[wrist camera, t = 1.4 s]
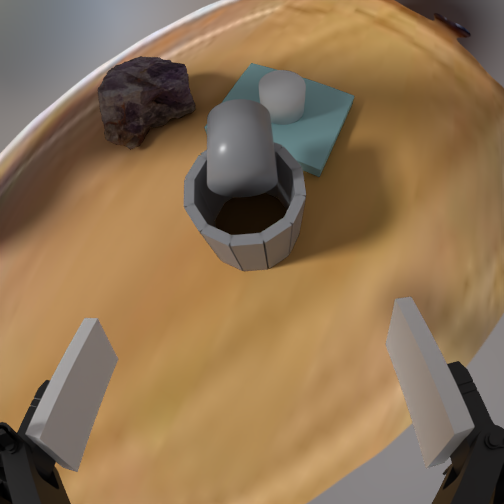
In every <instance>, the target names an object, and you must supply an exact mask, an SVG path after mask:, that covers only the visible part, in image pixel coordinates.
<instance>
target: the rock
mask: <svg viewBox="0 0 504 504" xmlns="http://www.w3.org/2000/svg"><path fill="white" fill-rule="evenodd" d="M98 96H99V103H100V112H101V115H102V121H103V123H104V129H105V132H104V134H105V137H106V140H107V141H110V142H112V143H114V144H119V145H124V146H126V147H128V148H129V149H130V150H131V149H133V148H135V147H137V146H140V144H141V143H142V142H143V140H144V138H145V134H147V133H148V131H149V129H150V128H154V127H157V126H162V125H164V124H166V123H167V122H168V121H169V120H170V119H171V118H173V117H174V118H180V117H182V116H183V115H185V114H187V113H192V112H193V111H194V110H195V108H196V105H195V103H194V101H193V97H192V95H191V93H190V89H189V83H188V74H187V69H186V66H185V64H180V63H172V62H171V61H170V60H163V59H161V58H158V57H138V58H135V59H132V60H130V61H127V62H124V63H122V64H120V65H116V66H115V67H114V68H112V69H111V70H109V71H108V72H107V75H106V76H105V77H104V79H103V81H102V84H101V86H100V87H99V88H98Z"/></svg>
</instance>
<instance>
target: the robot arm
mask: <svg viewBox="0 0 504 504" xmlns="http://www.w3.org/2000/svg"><path fill="white" fill-rule="evenodd" d="M386 347H387V350H388V352H389V355H390V358H391V360H392V363H393V366H394V369H395V372H396V374H397V377H398V380H399V383H400V386H401V389H402V392H403V394H404V397H405V400H406V403H407V406H408V410H409V413H410V416H411V419H412V422H413V425H414V428H415V432H416V435H417V438H418V442H419V445H420V448H421V452H422V455H423V459H424V462H425V466H426V468H429V467H433V466H436V465H439V464H442V463H444V462H445V461H446V460H447V459H448V458H449V457H450V458H451V461H452V464H451V465H450V466H449V467H448V468H447V469H446V470H445V472H444V473H443V475H445V474H446V473H447V474H446V476H445V478H444V480H443V483H442V485H441V487H440V489H439V491H438V493H437V495H436V497H435V499H434V500H433V502H432V504H504V429H503V428H501V427H500V426H497V425H495V424H494V423H493V422H492V420H491V418H490V416H489V413H488V411H487V409H486V407H485V405H484V402H483V400H482V398H481V396H480V394H479V392H478V391H477V388H476V386H475V384H474V383H473V379H472V377H471V376H470V374H469V372H468V370H467V369H466V368H465V367H464V366H463V365H462V364H461V363H460V362H459V361H457V362H453V363H449V364H447V363H446V361H445V359H444V357H443V355H442V353H441V351H440V349H439V347H438V345H437V343H436V341H435V340H434V338H433V336H432V334H431V332H430V330H429V328H428V326H427V324H426V323H425V321H424V319H423V317H422V315H421V313H420V312H419V310H418V308H417V306H416V304H415V303H414V301H413V299H412V297H405V298H398V299H395V302H394V307H393V312H392V317H391V322H390V327H389V331H388V336H387V340H386ZM117 361H118V357H117V356H116V354H115V352H114V350H113V348H112V346H111V344H110V342H109V340H108V338H107V336H106V334H105V332H104V330H103V328H102V326H101V324H100V322H99V320H98V318H85V319H84V320H83V322H82V324H81V325H80V327H79V329H78V331H77V332H76V334H75V336H74V338H73V339H72V341H71V343H70V345H69V347H68V348H67V350H66V352H65V354H64V356H63V358H62V359H61V361H60V363H59V365H58V367H57V369H56V371H55V373H54V375H53V377H52V378H51V380H50V381H49V380H46V381H45V382H44V383H43V384H42V385H41V386H40V387H39V388H38V390H37V392H36V394H35V396H34V399H33V400H32V402H31V404H30V405H31V406H29V409H28V411H27V413H26V415H25V417H24V419H23V421H22V423H21V426H20V428H19V430H18V432H17V433H16V432H15V431H14V430H13V429H12V428H11V427H10V426H9V425H8V424H7V423H4V422H1V423H0V504H71V503H70V501H69V498H68V496H67V493H66V491H65V489H64V486H63V484H62V481H61V478H60V476H59V473H58V471H57V469H56V467H55V466H54V465H55V462H57V463H58V464H59V465H61V466H62V467H63V468H66V469H69V470H73V471H76V472H78V469H79V466H80V462H81V459H82V456H83V453H84V450H85V447H86V444H87V441H88V438H89V435H90V432H91V430H92V427H93V424H94V421H95V418H96V415H97V413H98V410H99V407H100V405H101V402H102V399H103V397H104V394H105V391H106V389H107V386H108V383H109V381H110V378H111V376H112V373H113V371H114V368H115V366H116V363H117Z"/></svg>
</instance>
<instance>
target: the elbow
mask: <svg viewBox="0 0 504 504" xmlns="http://www.w3.org/2000/svg"><path fill="white" fill-rule="evenodd" d="M201 155H202V156H201ZM201 155H199V156H198V158H197V159H196V161H195V163H194V164H193V166H192V167H191V169H190V171H189V172H188V174H187V175H186V177H185V179H186V180H184V207H185V210H186V212H187V213H188V215H189V216H190V218H191V219H192V221H193V223H194V224H195V226H196V227H197V229H198V231H199V232H200V233H201V235H202V236H203V237H204V239H205V240H206V241H207V243H208V244H209V245H210V247H211V248H212V249H213V251H214V252H215V253H216V255H217V256H218V257H219V259H220V260H221V261H223V262H225V263H227V264H229V265H231V266H233V267H235V268H237V269H239V270H241V271H243V270H244V271H254V270H266V269H267V267H268V268H269V269H270V268H271V267H273V266H274V265H276V264H277V263H279V262H280V261H281V260H283V259H284V258H286V257H287V256H289V255H290V253H291V250H292V248H293V246H294V244H295V242H296V240H297V238H298V236H299V232H300V227H301V222H302V216H303V210H304V205H305V199H306V190H305V183H304V176H303V169H302V168H301V167H302V166H301V165H300V164H299V163H298V162H297V161H296V159H295V158H294V157H293V156H292V155H291V154H290V153H289V151H288V150H287V149H286V148H285V147H282V145H281V144H278V143H275V142H273V133H272V125H271V117H270V113H269V111H268V109H267V108H266V107H265V106H263V105H262V104H260V103H258V102H255V101H252V100H246V99H235V100H230V101H226V102H223V103H221V104H219V105H217V106H215V107H214V108H213V109H212V110H211V111H210V113H209V115H208V118H207V150H206V151H204V152H202V153H201ZM263 193H266V194H269V195H271V196H274V197H276V198H278V199H279V200H280V202H281V203H282V204H283V206H284V207H285V208H286V210H287V212H286V214H285V216H284V218H282V219H281V220H279V221H278V222H276V223H275V224H273V225H272V226H270V227H269V228H267V229H266V230H264V231H262V232H261V233H253V234H241V235H230V234H228V233H226V232H224V231H221V230H219V229H217V228H216V223H215V219H216V218H217V216H218V214H219V212H220V210H221V209H222V207H223V205H224V203H225V202H227V201H229V200H230V199H232V198H233V197H251V196H256V195H260V194H263Z"/></svg>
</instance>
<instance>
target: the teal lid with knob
mask: <svg viewBox="0 0 504 504" xmlns="http://www.w3.org/2000/svg"><path fill="white" fill-rule="evenodd" d="M235 99H246V100H252V101H255V102H258V103H260V104H262V105H263V106H265V107H266V108H267V109H268V111H269V113H270V117H271V125H272V133H273V142H275V143H278V144H281V145H282V147H285V148H286V149H287V150H288V151H289V153H290V154H291V155H292V156H293V157H294V158H295V159H296V161H297V162H298V163H299V164H300V165H301V166H302V167H301V168H302V169H303V170H304V171H306V172H308V173H311V174H313V175H316V176H318V177H320V175H321V172H322V170H323V168H324V166H325V164H326V162H327V159H328V157H329V155H330V153H331V151H332V148H333V146H334V144H335V142H336V140H337V137H338V135H339V133H340V131H341V128H342V126H343V124H344V122H345V119H346V117H347V115H348V113H349V110H350V108H351V106H352V104H353V100H354V96H353V95H351V94H348V93H345V92H343V91H340V90H337V89H335V88H332V87H329V86H326V85H323V84H321V83H318V82H315V81H312V80H309V79H306V78H302V77H301V76H299V75H298V74H296V73H294V72H291V71H286V70H276V69H272V68H268V67H265V66H261V65H257V64H253V63H251V64H250V65H249V67H248V68H247V69H246V71H245V72H244V73H243V75H242V76H241V77H240V79H239V80H238V81H237V83H236V84H235V85H234V87H233V88H232V89H231V91H230V92H229V93H228V95H227V96H226V97H225V99H224V100H223V102H226V101H230V100H235ZM223 102H222V103H223ZM204 128H205V131H206V133H207V124H206V126H205V127H204Z"/></svg>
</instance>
